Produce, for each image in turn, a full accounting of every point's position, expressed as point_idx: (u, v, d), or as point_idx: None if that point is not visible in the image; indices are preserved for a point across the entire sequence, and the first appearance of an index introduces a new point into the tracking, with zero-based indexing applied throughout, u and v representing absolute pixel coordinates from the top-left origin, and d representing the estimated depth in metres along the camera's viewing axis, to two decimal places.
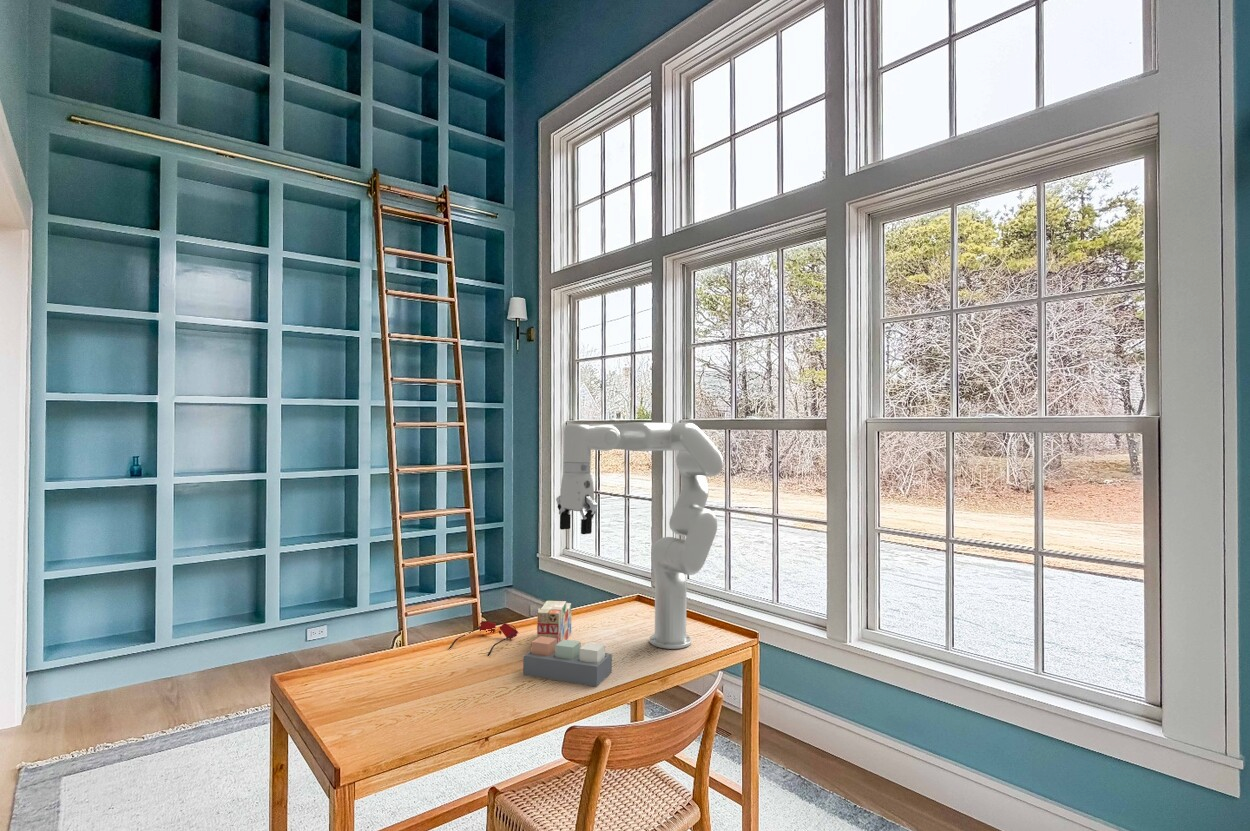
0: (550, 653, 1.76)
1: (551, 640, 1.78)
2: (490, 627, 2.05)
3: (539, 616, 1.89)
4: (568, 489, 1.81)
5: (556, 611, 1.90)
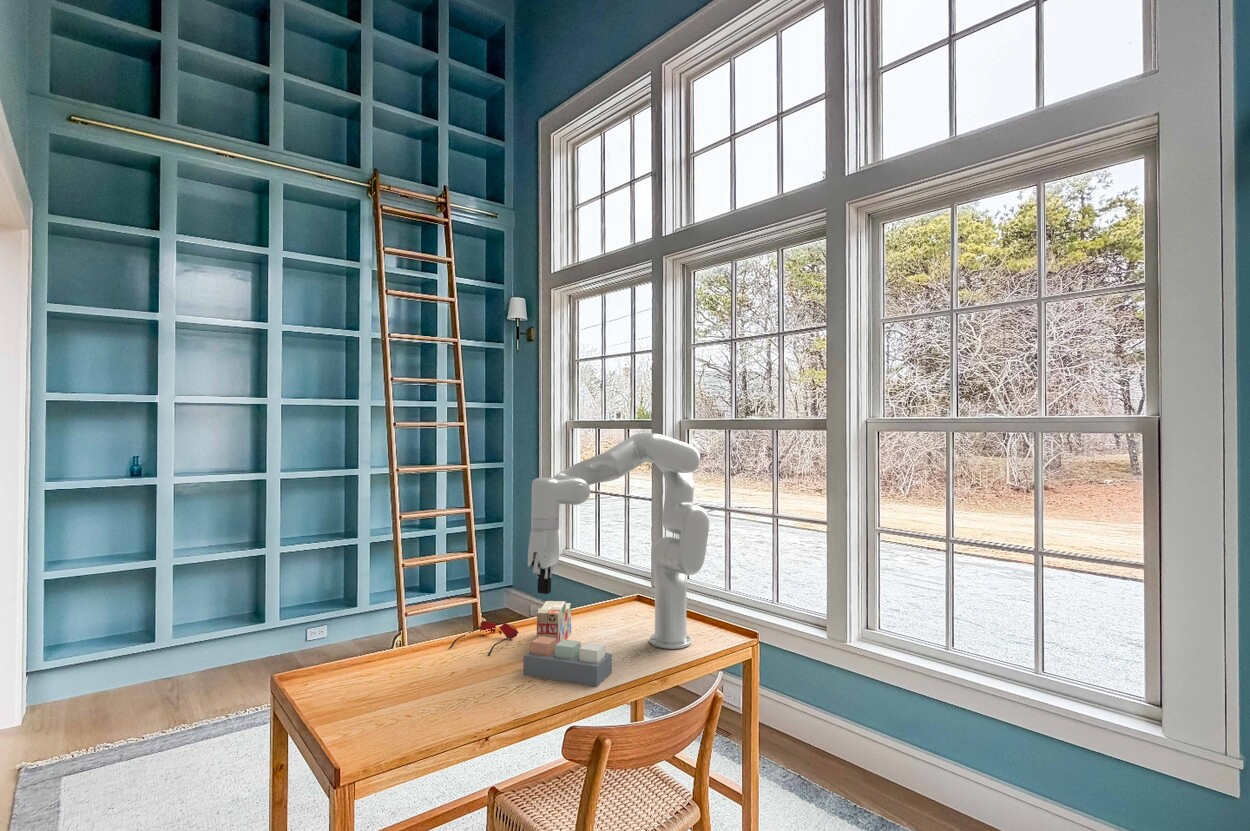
0: (550, 653, 1.76)
1: (551, 640, 1.78)
2: (490, 627, 2.05)
3: (538, 616, 1.89)
4: (552, 546, 1.77)
5: (555, 611, 1.91)
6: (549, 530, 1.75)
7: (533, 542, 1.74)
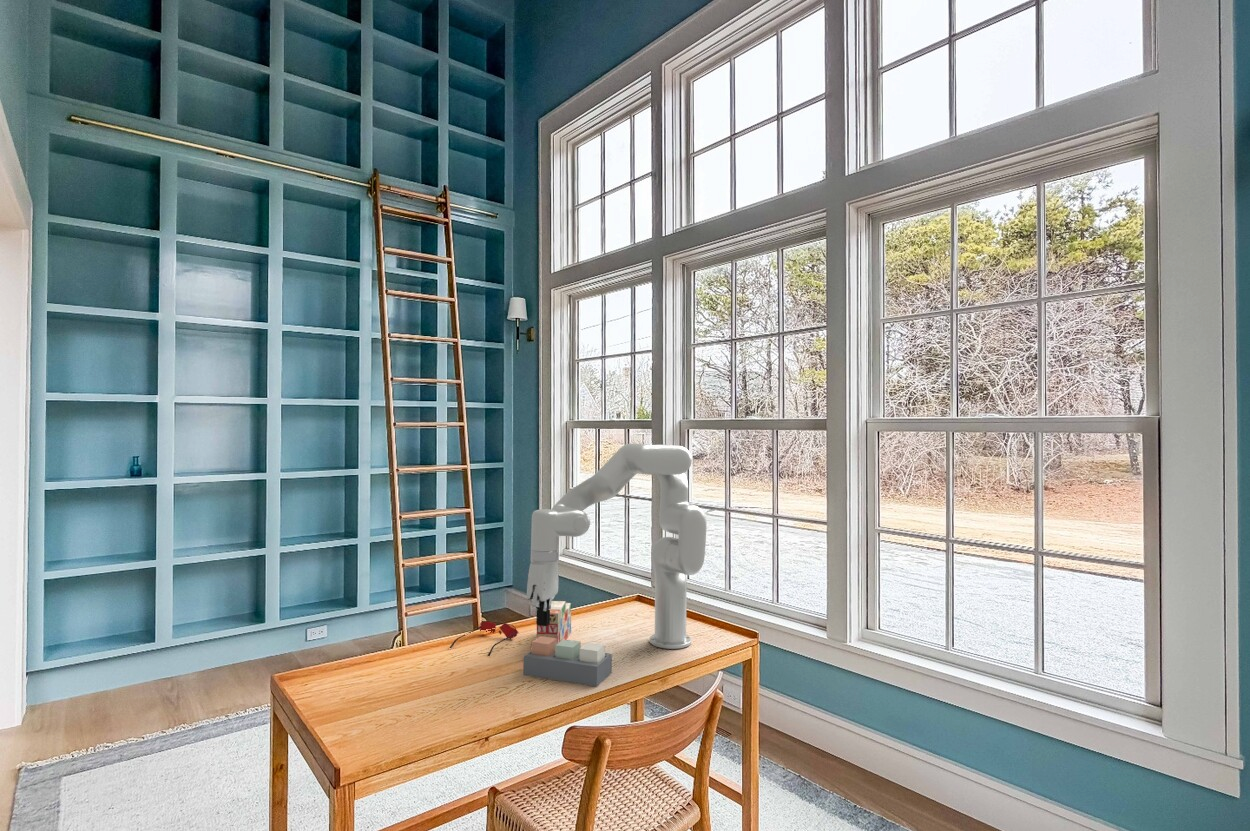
0: (550, 653, 1.76)
1: (551, 640, 1.78)
2: (490, 627, 2.05)
3: None
4: (551, 578, 1.77)
5: (555, 611, 1.91)
6: (548, 562, 1.74)
7: (532, 574, 1.74)
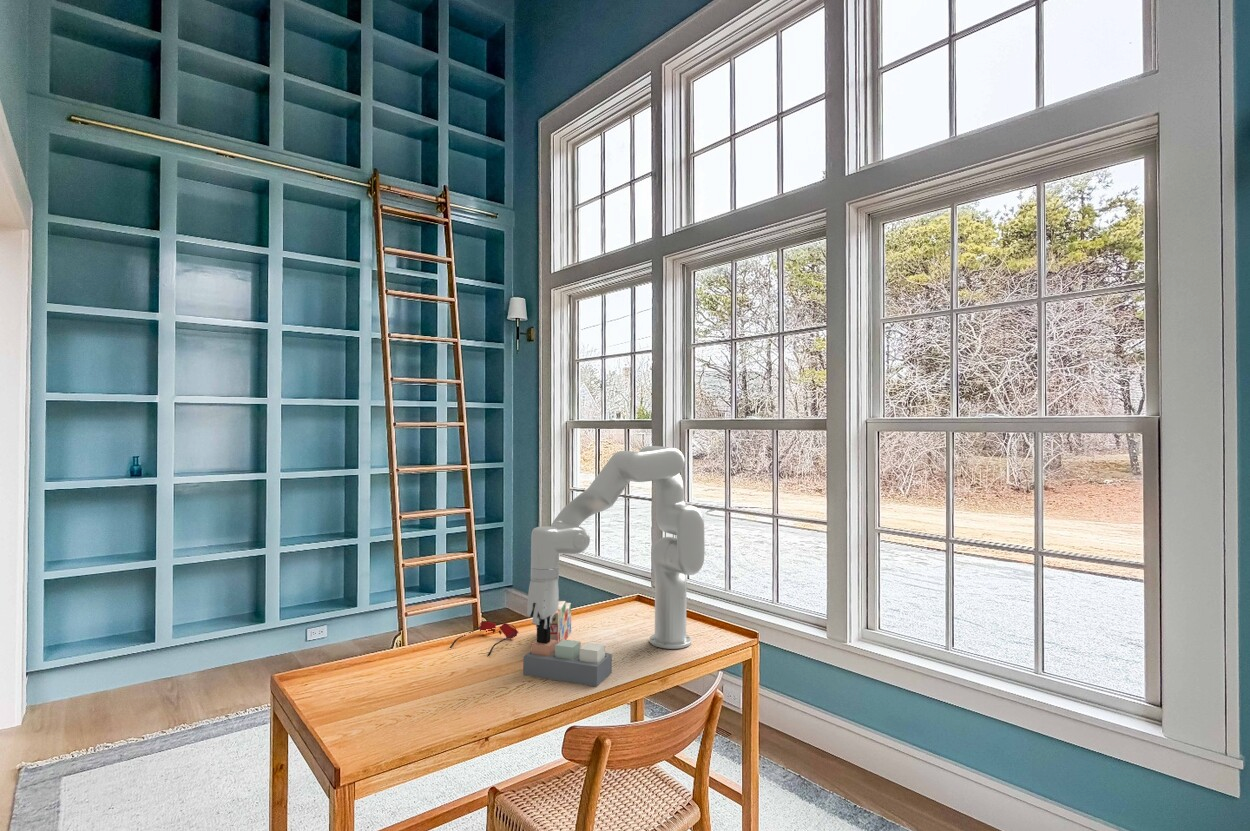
0: None
1: (551, 642, 1.78)
2: (490, 627, 2.06)
3: None
4: (552, 595, 1.77)
5: None
6: (548, 580, 1.74)
7: (532, 592, 1.74)
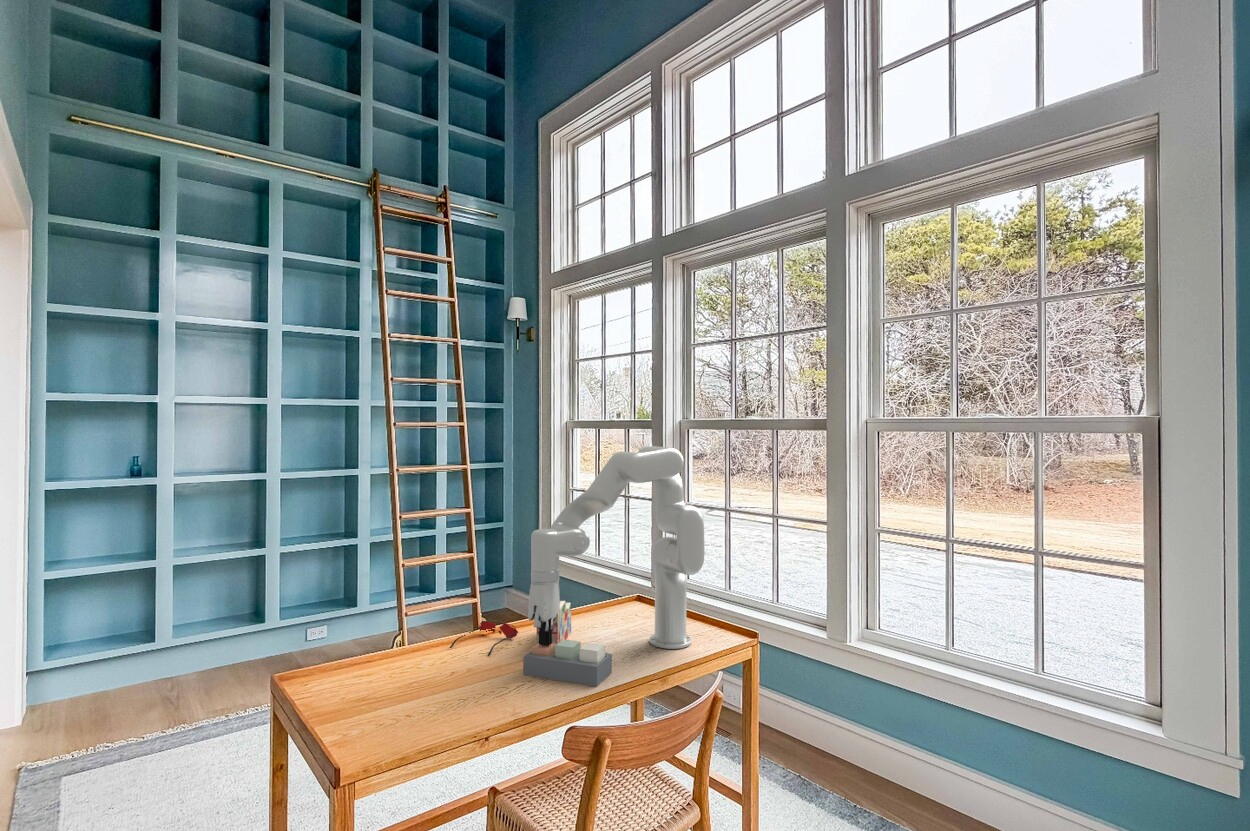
0: None
1: (551, 646, 1.77)
2: (490, 627, 2.06)
3: None
4: (552, 597, 1.77)
5: None
6: (549, 583, 1.75)
7: (533, 595, 1.74)
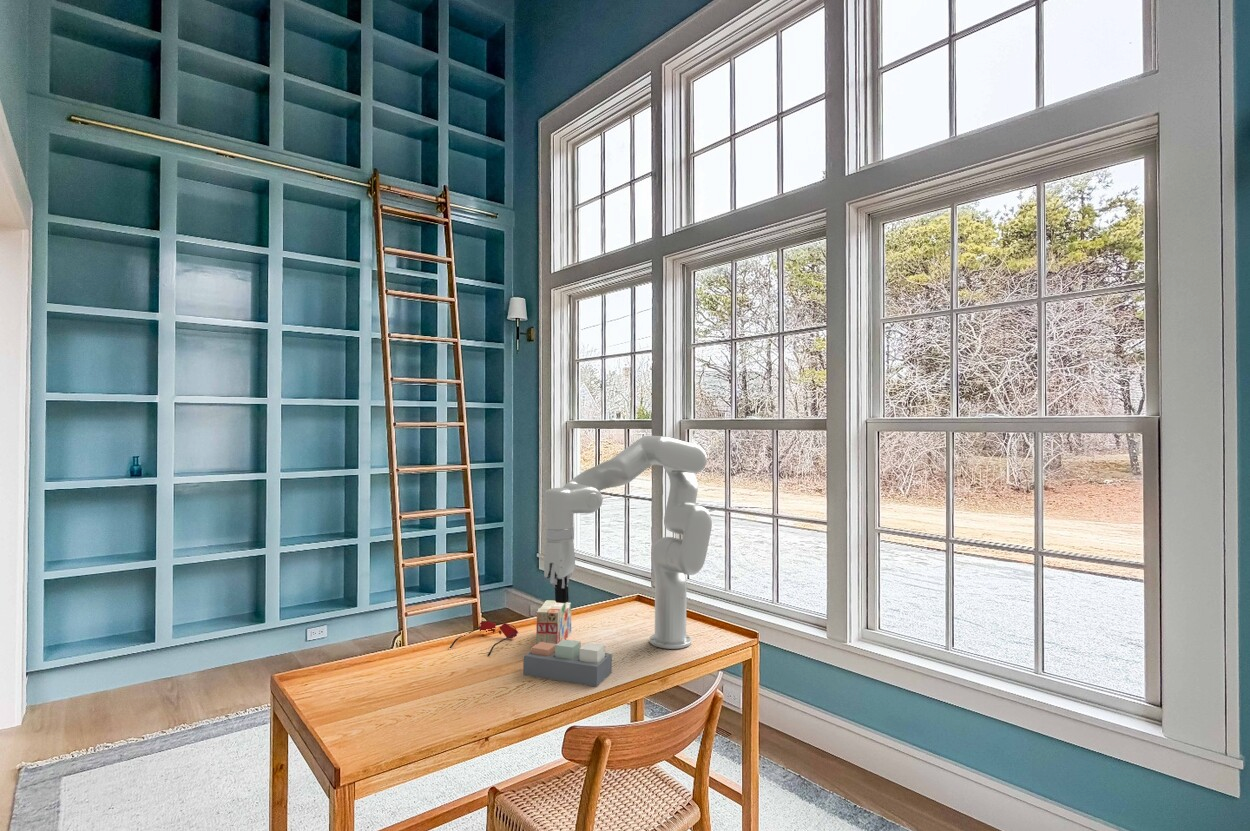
0: None
1: (551, 646, 1.77)
2: (490, 627, 2.06)
3: (538, 615, 1.90)
4: (568, 555, 1.78)
5: (555, 610, 1.92)
6: (564, 540, 1.75)
7: (549, 553, 1.75)
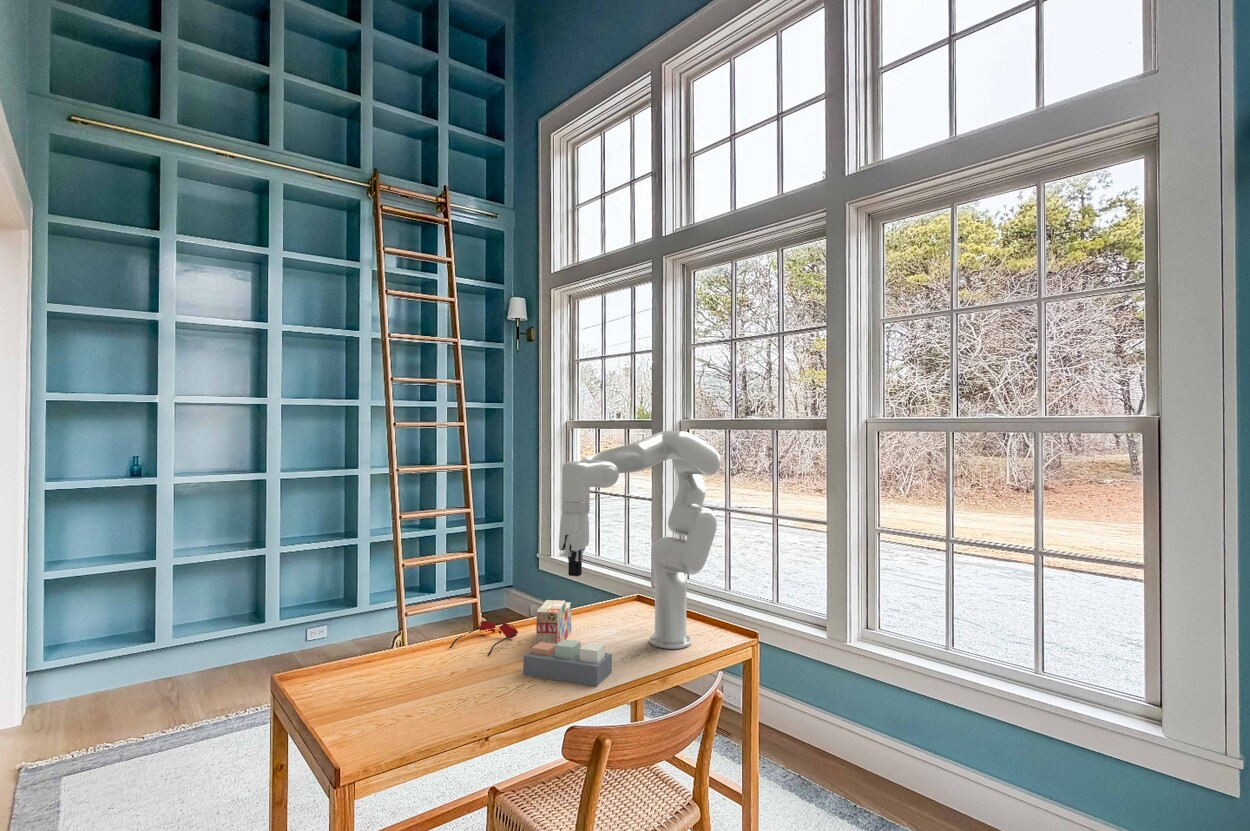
0: None
1: (551, 646, 1.77)
2: (490, 627, 2.06)
3: (538, 615, 1.90)
4: (583, 528, 1.78)
5: (555, 610, 1.92)
6: (580, 513, 1.76)
7: (564, 525, 1.75)
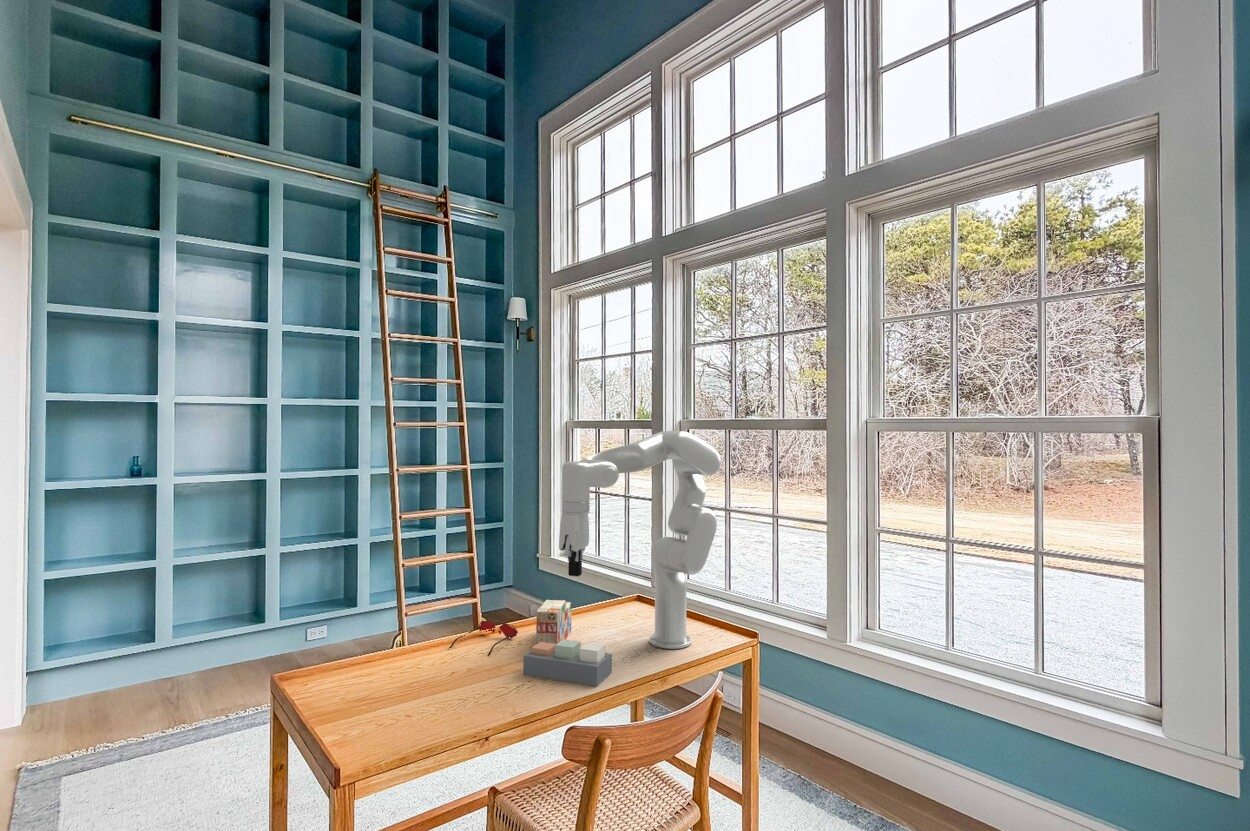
0: None
1: (551, 646, 1.77)
2: (490, 627, 2.06)
3: (538, 615, 1.91)
4: (583, 528, 1.78)
5: (555, 610, 1.92)
6: (580, 513, 1.76)
7: (564, 525, 1.75)
